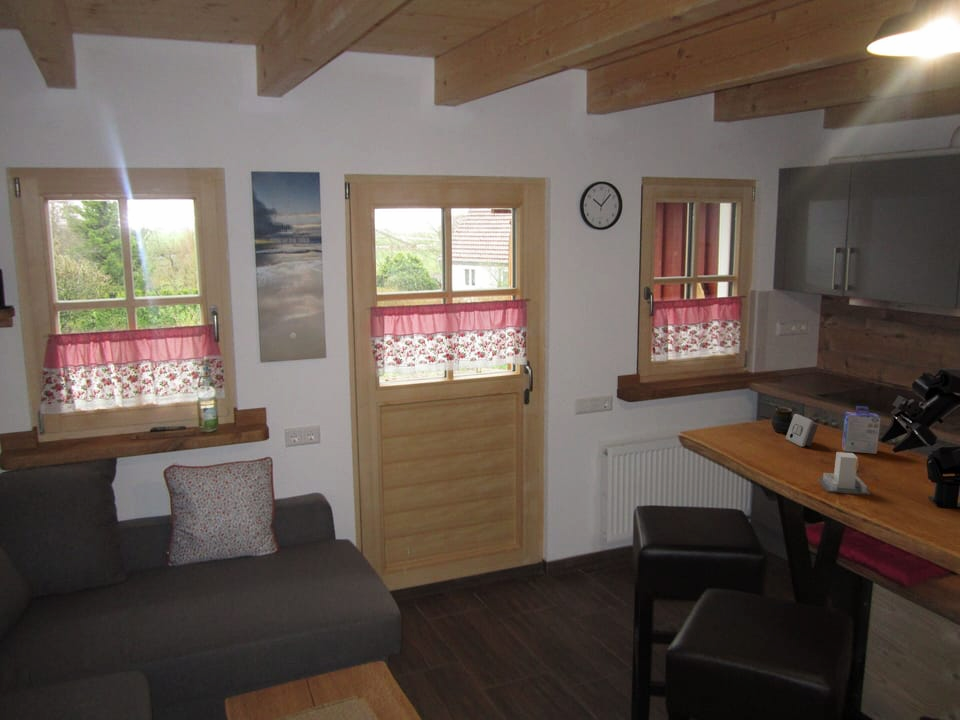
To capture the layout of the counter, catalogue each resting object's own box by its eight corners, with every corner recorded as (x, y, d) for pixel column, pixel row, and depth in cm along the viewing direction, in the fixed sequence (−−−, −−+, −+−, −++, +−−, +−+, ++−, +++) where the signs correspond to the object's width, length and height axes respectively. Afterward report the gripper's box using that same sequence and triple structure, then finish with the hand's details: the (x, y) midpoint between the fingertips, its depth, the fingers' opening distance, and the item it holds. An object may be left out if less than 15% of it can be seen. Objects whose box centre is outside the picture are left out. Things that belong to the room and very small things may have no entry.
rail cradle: (870, 495, 216) (871, 486, 215) (828, 492, 217) (828, 483, 217) (858, 482, 226) (859, 474, 225) (818, 479, 227) (818, 471, 227)
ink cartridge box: (872, 449, 257) (878, 406, 254) (877, 454, 252) (883, 410, 249) (840, 446, 259) (845, 404, 256) (844, 452, 254) (849, 408, 251)
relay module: (855, 489, 219) (859, 458, 217) (837, 487, 220) (841, 457, 218) (850, 483, 223) (854, 453, 221) (833, 482, 224) (836, 452, 222)
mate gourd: (797, 432, 275) (800, 404, 273) (783, 435, 271) (786, 407, 269) (780, 427, 281) (782, 400, 278) (766, 430, 277) (768, 403, 275)
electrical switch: (784, 439, 266) (789, 413, 265) (798, 440, 267) (803, 413, 266) (801, 448, 257) (807, 420, 256) (815, 448, 258) (820, 421, 257)
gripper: (902, 379, 220) (856, 415, 223) (930, 395, 202) (879, 434, 205) (929, 408, 220) (882, 444, 224) (959, 426, 202) (907, 465, 206)
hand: (887, 446), depth 215 cm, fingers open, 9 cm apart
